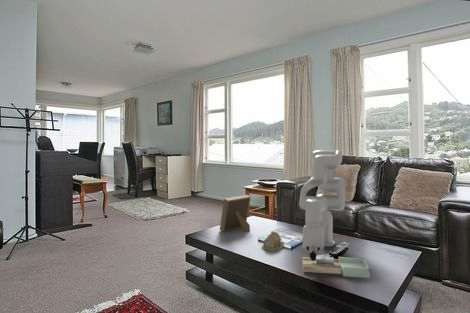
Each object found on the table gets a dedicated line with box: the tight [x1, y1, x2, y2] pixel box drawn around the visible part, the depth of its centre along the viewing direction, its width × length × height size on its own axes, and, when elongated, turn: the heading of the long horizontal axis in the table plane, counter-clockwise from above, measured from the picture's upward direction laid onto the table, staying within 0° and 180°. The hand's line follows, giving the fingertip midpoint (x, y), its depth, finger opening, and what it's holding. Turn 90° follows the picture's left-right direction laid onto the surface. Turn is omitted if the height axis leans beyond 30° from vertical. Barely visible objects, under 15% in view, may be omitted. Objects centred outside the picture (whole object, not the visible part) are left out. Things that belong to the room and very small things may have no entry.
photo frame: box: [219, 194, 252, 233], centre depth 204 cm, size 15×22×25 cm
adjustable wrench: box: [316, 249, 346, 258], centre depth 158 cm, size 25×6×2 cm, turn 124°
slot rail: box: [301, 256, 342, 275], centre depth 140 cm, size 8×18×4 cm, turn 80°
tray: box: [338, 256, 371, 279], centre depth 138 cm, size 12×12×4 cm
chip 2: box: [325, 256, 335, 265], centre depth 139 cm, size 4×4×3 cm
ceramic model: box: [261, 231, 285, 252], centre depth 170 cm, size 14×11×10 cm
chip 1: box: [316, 255, 325, 264], centre depth 140 cm, size 4×4×3 cm
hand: (312, 259), depth 141 cm, fingers closed
